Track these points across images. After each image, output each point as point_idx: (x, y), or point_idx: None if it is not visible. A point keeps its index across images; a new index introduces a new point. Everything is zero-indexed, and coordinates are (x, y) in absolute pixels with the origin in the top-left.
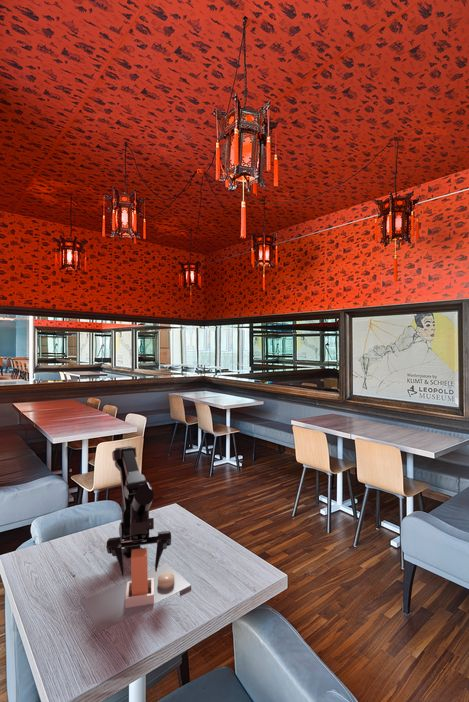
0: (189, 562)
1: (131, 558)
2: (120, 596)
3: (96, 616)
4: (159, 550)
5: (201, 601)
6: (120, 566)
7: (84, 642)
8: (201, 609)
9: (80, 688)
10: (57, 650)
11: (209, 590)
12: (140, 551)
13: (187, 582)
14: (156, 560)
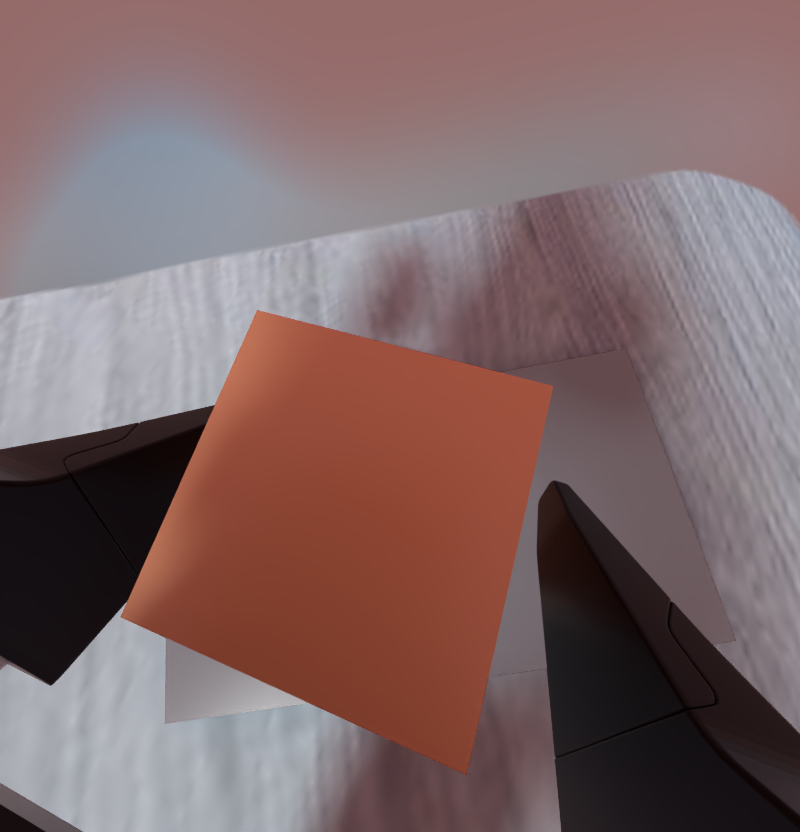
0: None
1: (539, 382)
2: None
3: (636, 455)
4: (28, 461)
5: (193, 346)
6: (625, 552)
7: (673, 356)
8: (217, 308)
9: (676, 183)
10: (786, 366)
11: (132, 389)
12: (302, 537)
13: None
14: (196, 419)
